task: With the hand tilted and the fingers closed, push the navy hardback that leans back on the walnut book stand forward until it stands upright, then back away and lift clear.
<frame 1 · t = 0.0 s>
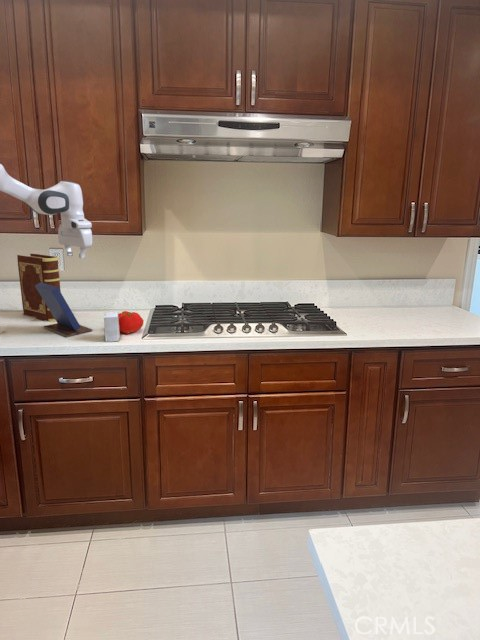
hand: (76, 257, 191), 33 cm above the table, tool pointing down, fingers open, 8 cm apart
book: (57, 306, 201), point 11 cm above the table, hinge at 25.0°
tomato: (129, 331, 206), on the table
decorative book: (44, 317, 227), on the table
small box: (112, 339, 195), on the table
book stand: (68, 330, 206), on the table
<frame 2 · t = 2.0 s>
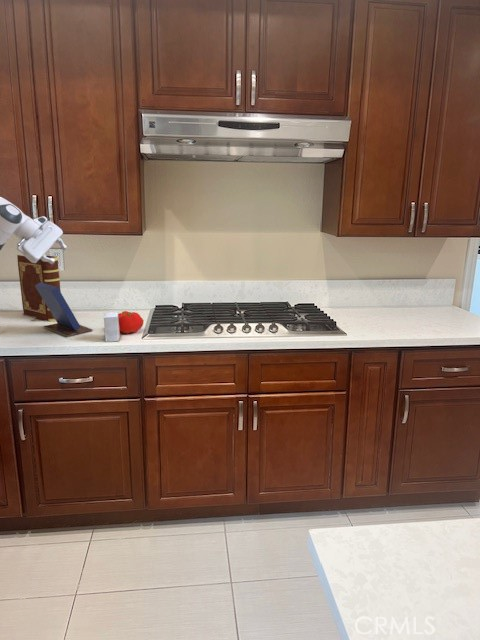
hand: (59, 255, 183), 35 cm above the table, tool tilted 45°, fingers open, 8 cm apart
nothing on the table moved.
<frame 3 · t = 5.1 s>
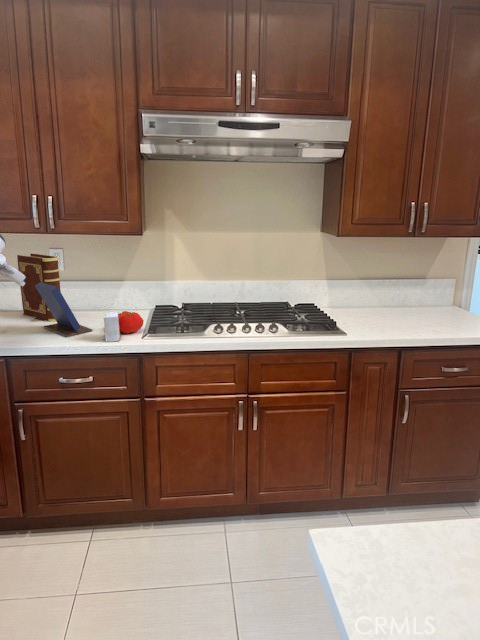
hand: (22, 284, 187), 23 cm above the table, tool tilted 45°, fingers closed
nothing on the table moved.
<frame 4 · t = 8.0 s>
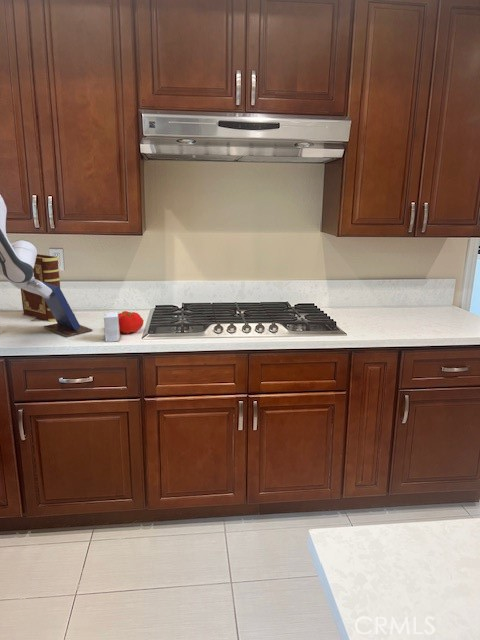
hand: (48, 297, 196), 16 cm above the table, tool tilted 45°, fingers closed, pressing on book
book: (58, 306, 201), point 12 cm above the table, hinge at 23.1°, touching gripper
everything else where it was.
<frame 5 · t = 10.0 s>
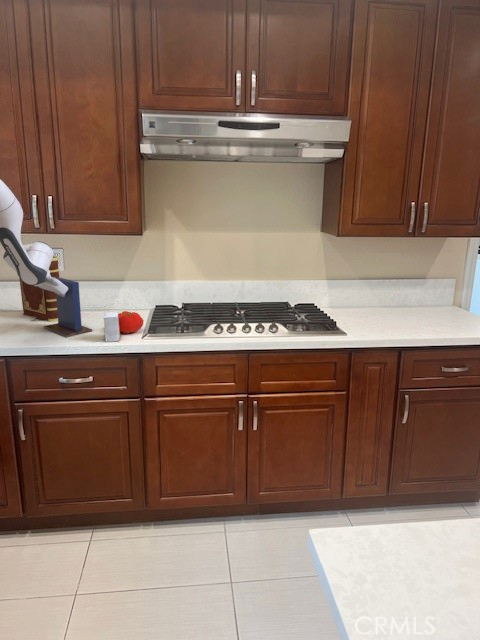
hand: (63, 295, 201), 16 cm above the table, tool tilted 45°, fingers closed, pressing on book
book: (68, 304, 204), point 12 cm above the table, hinge at -0.9°, touching gripper
everything else where it was.
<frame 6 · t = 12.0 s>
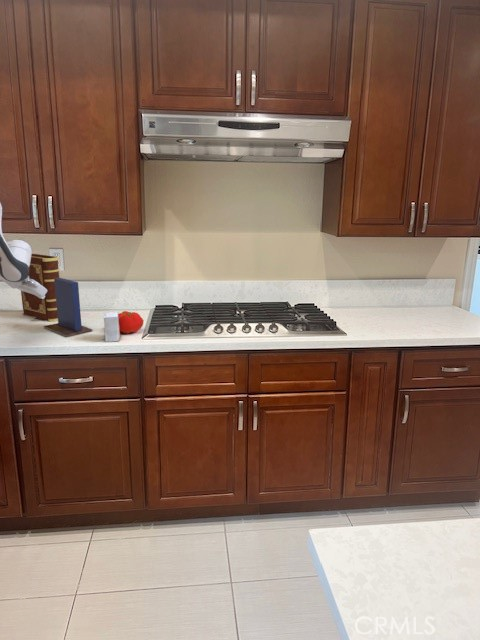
hand: (42, 297, 196), 16 cm above the table, tool tilted 45°, fingers closed
book: (67, 304, 204), point 12 cm above the table, hinge at -0.2°
everything else where it was.
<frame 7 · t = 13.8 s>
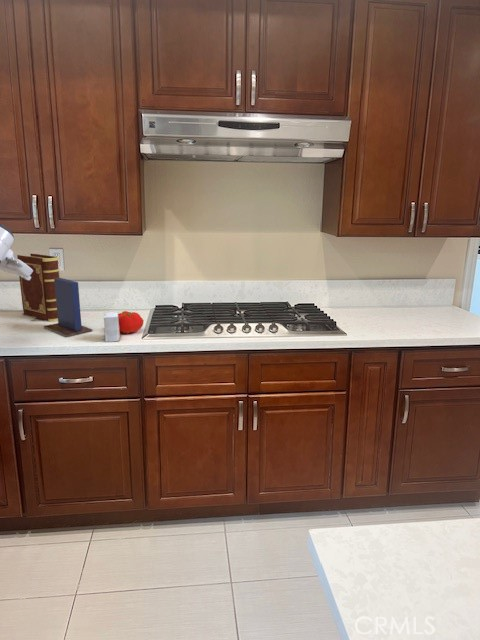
hand: (28, 278, 190), 25 cm above the table, tool tilted 45°, fingers closed
nothing on the table moved.
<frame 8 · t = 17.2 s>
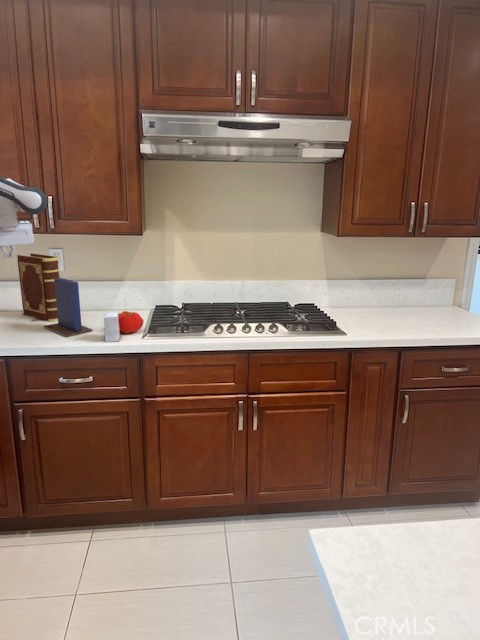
hand: (9, 257, 183), 34 cm above the table, tool pointing down, fingers closed
nothing on the table moved.
at the end: book at +0° (first picture: +25°); decorative book moved 0.2 cm from its start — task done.
